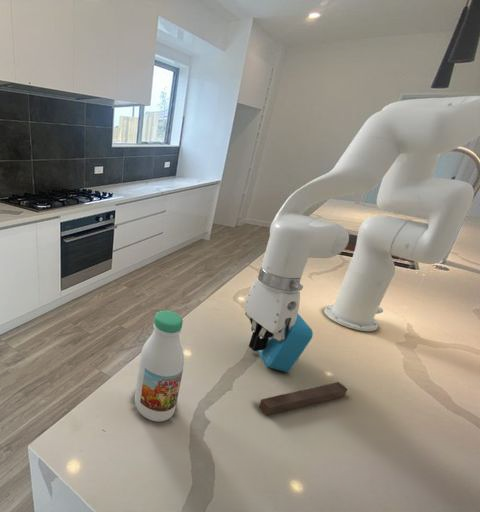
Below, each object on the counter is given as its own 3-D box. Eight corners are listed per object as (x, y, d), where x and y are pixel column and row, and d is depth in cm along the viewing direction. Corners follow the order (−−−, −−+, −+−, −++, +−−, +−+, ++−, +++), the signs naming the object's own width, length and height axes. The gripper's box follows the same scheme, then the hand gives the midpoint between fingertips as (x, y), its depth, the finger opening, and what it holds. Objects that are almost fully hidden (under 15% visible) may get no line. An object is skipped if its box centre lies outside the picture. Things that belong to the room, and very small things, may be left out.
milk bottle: (125, 404, 57) (136, 315, 50) (149, 383, 62) (162, 300, 55) (159, 431, 52) (176, 337, 45) (182, 406, 57) (201, 318, 50)
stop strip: (335, 388, 63) (338, 381, 63) (344, 396, 62) (348, 389, 61) (258, 406, 58) (261, 399, 57) (266, 415, 56) (269, 407, 56)
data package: (250, 336, 78) (272, 298, 73) (267, 342, 77) (290, 304, 73) (267, 369, 67) (294, 327, 62) (287, 375, 66) (315, 333, 62)
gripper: (324, 294, 58) (296, 368, 65) (265, 263, 71) (247, 327, 78) (294, 297, 56) (268, 373, 63) (239, 265, 69) (222, 331, 76)
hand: (256, 348), depth 70 cm, fingers closed
